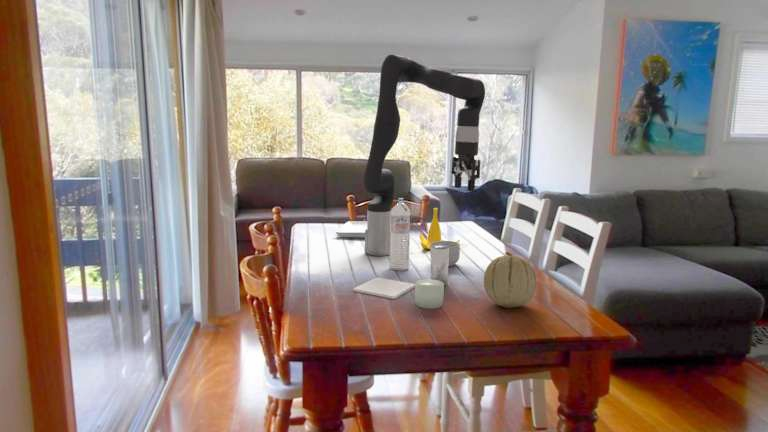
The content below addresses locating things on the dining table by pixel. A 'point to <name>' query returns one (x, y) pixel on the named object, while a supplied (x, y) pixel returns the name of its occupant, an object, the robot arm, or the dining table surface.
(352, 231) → the square plate
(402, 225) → the water bottle
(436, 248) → the can
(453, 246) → the teacup
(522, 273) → the cantaloupe
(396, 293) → the tile
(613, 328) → the dining table surface
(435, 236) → the banana peel
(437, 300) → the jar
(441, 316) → the dining table surface
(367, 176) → the robot arm
